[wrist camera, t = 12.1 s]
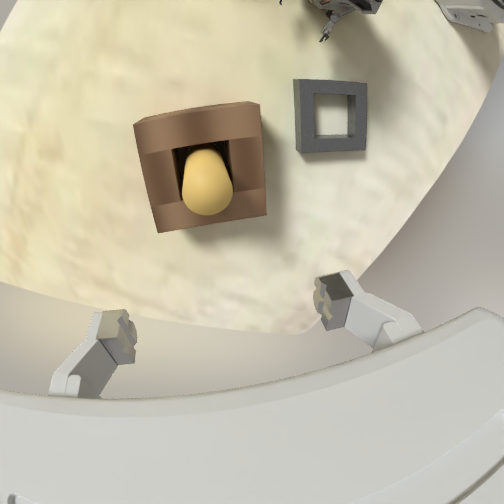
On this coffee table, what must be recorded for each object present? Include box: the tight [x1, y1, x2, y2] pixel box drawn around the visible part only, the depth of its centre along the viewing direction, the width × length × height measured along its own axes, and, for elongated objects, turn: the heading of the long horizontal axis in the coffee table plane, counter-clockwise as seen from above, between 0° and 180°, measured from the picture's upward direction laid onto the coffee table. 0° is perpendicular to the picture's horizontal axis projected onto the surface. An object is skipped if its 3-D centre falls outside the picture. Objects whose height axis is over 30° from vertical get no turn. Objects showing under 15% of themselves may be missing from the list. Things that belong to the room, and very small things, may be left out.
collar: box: [293, 79, 367, 153], centre depth 30 cm, size 9×9×2 cm
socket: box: [133, 101, 267, 233], centre depth 29 cm, size 12×12×6 cm
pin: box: [182, 142, 233, 215], centre depth 26 cm, size 4×4×12 cm
